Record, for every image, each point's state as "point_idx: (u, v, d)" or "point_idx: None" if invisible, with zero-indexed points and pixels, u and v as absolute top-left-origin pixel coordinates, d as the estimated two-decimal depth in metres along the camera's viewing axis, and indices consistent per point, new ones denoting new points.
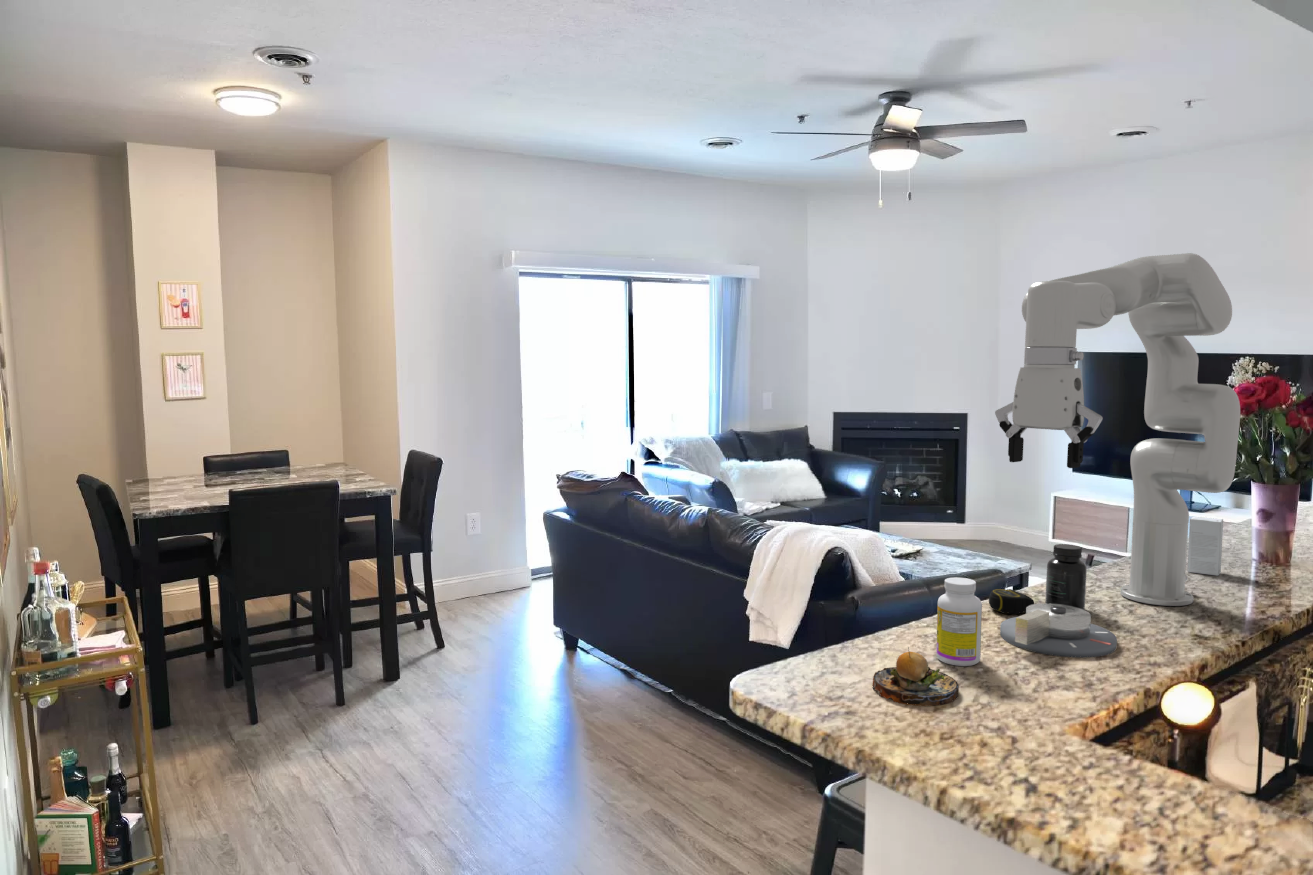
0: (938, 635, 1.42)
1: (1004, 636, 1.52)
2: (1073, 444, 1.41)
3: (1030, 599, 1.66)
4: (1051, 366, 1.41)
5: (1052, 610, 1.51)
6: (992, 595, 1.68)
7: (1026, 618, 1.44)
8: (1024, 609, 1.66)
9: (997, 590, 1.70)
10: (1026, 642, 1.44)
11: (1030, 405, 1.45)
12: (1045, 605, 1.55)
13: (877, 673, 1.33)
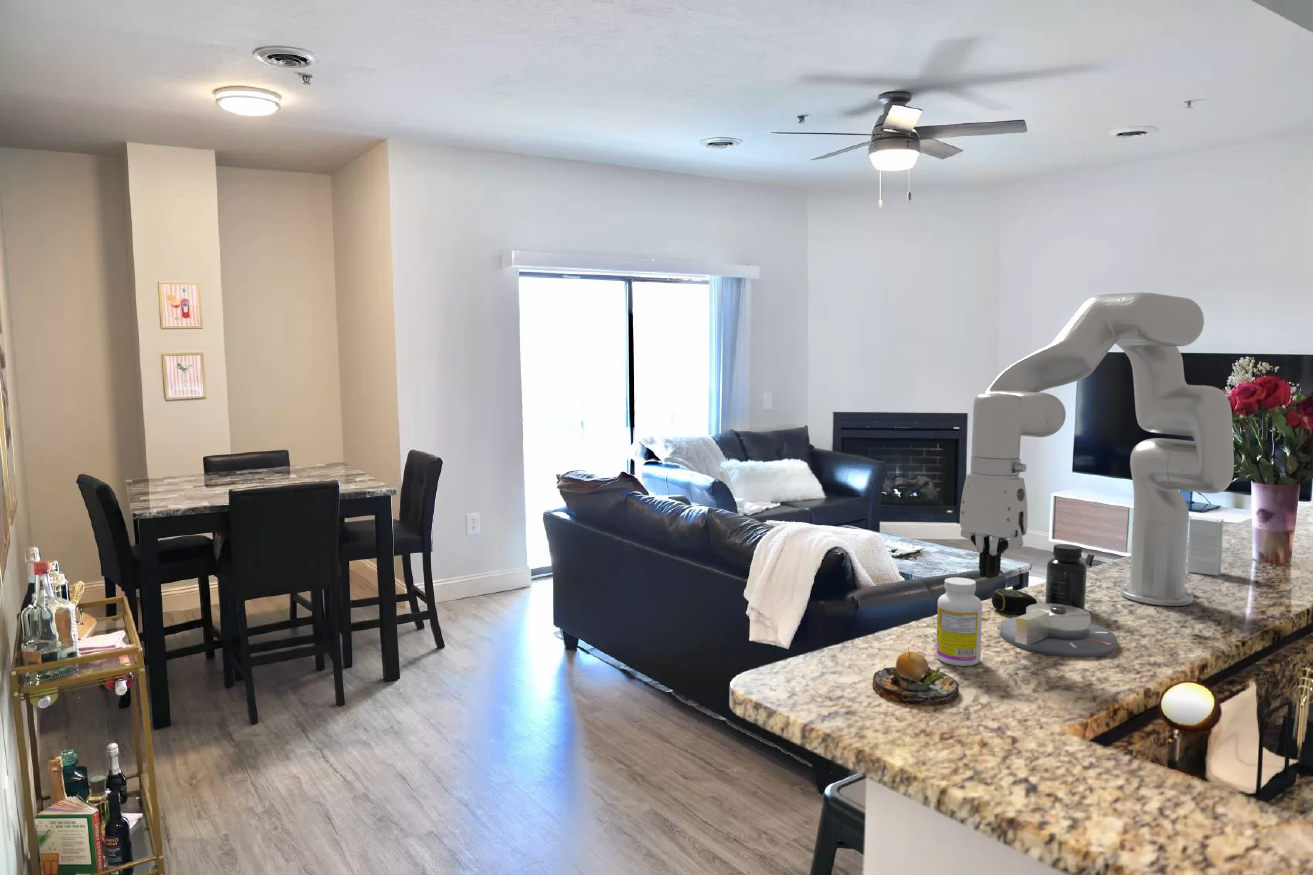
0: (938, 635, 1.42)
1: (1004, 636, 1.52)
2: (990, 556, 1.49)
3: (1033, 599, 1.66)
4: (995, 477, 1.45)
5: (1052, 610, 1.51)
6: (995, 595, 1.68)
7: (1026, 618, 1.44)
8: None
9: (1000, 590, 1.70)
10: (1026, 642, 1.44)
11: (976, 512, 1.49)
12: (1045, 605, 1.55)
13: (877, 673, 1.33)
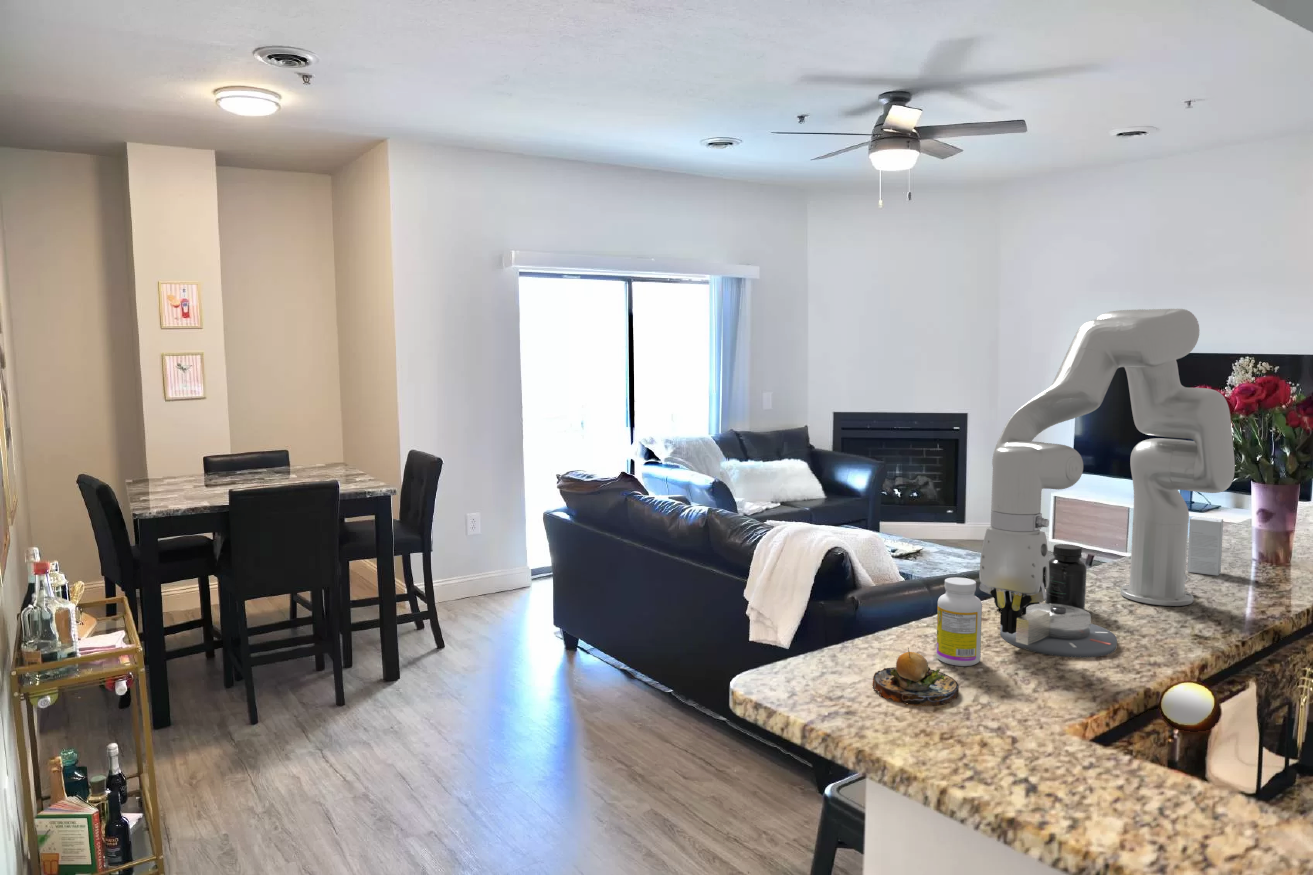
0: (938, 635, 1.42)
1: (1004, 636, 1.52)
2: (1013, 611, 1.47)
3: None
4: (1019, 533, 1.43)
5: (1052, 610, 1.51)
6: None
7: (1027, 618, 1.44)
8: None
9: None
10: (1027, 642, 1.44)
11: (997, 567, 1.47)
12: (1045, 605, 1.55)
13: (877, 673, 1.33)
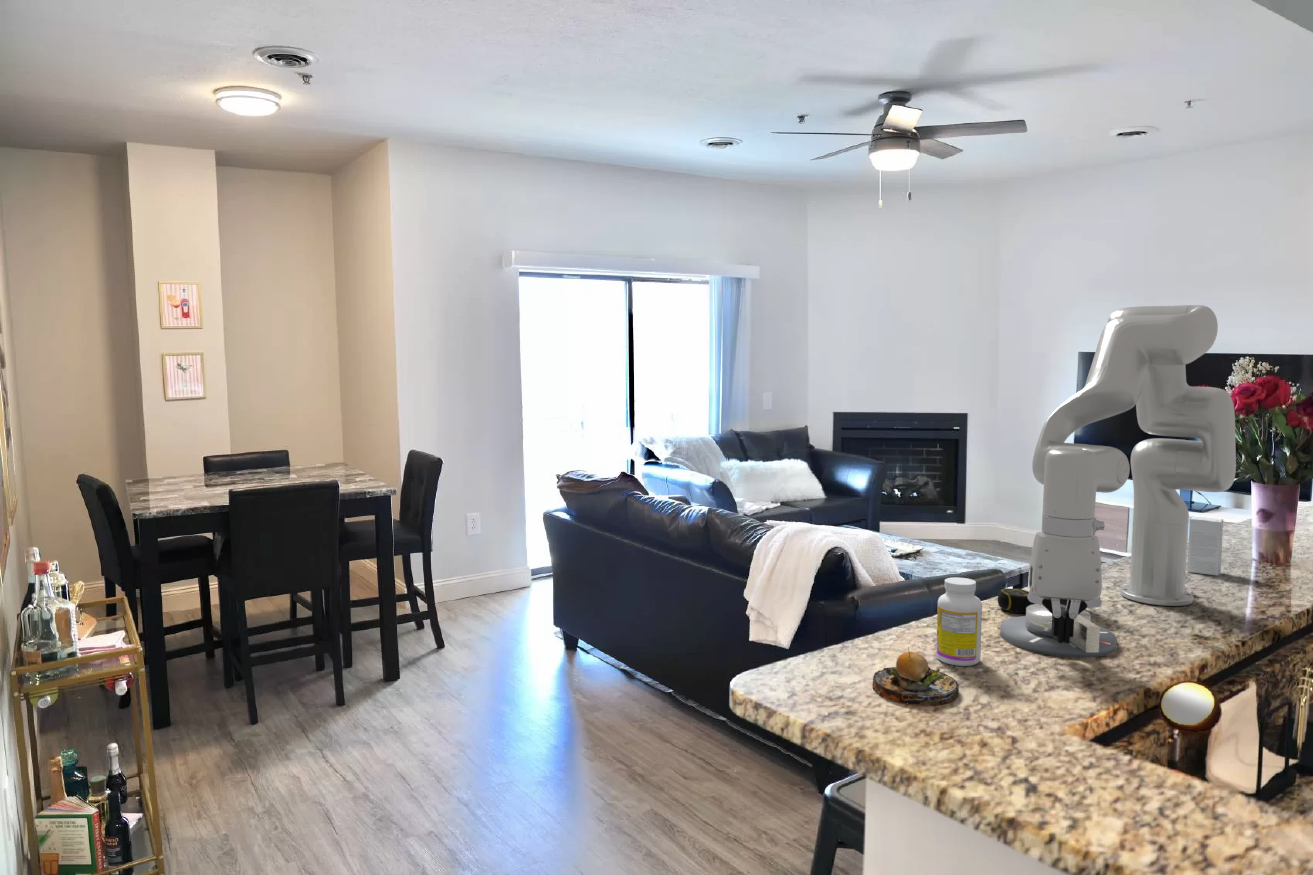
0: (938, 635, 1.42)
1: (1004, 636, 1.52)
2: None
3: None
4: (1085, 539, 1.38)
5: None
6: (1001, 594, 1.69)
7: (1093, 625, 1.40)
8: None
9: (1006, 589, 1.71)
10: (1097, 650, 1.40)
11: (1057, 576, 1.40)
12: (1033, 608, 1.54)
13: (877, 673, 1.33)
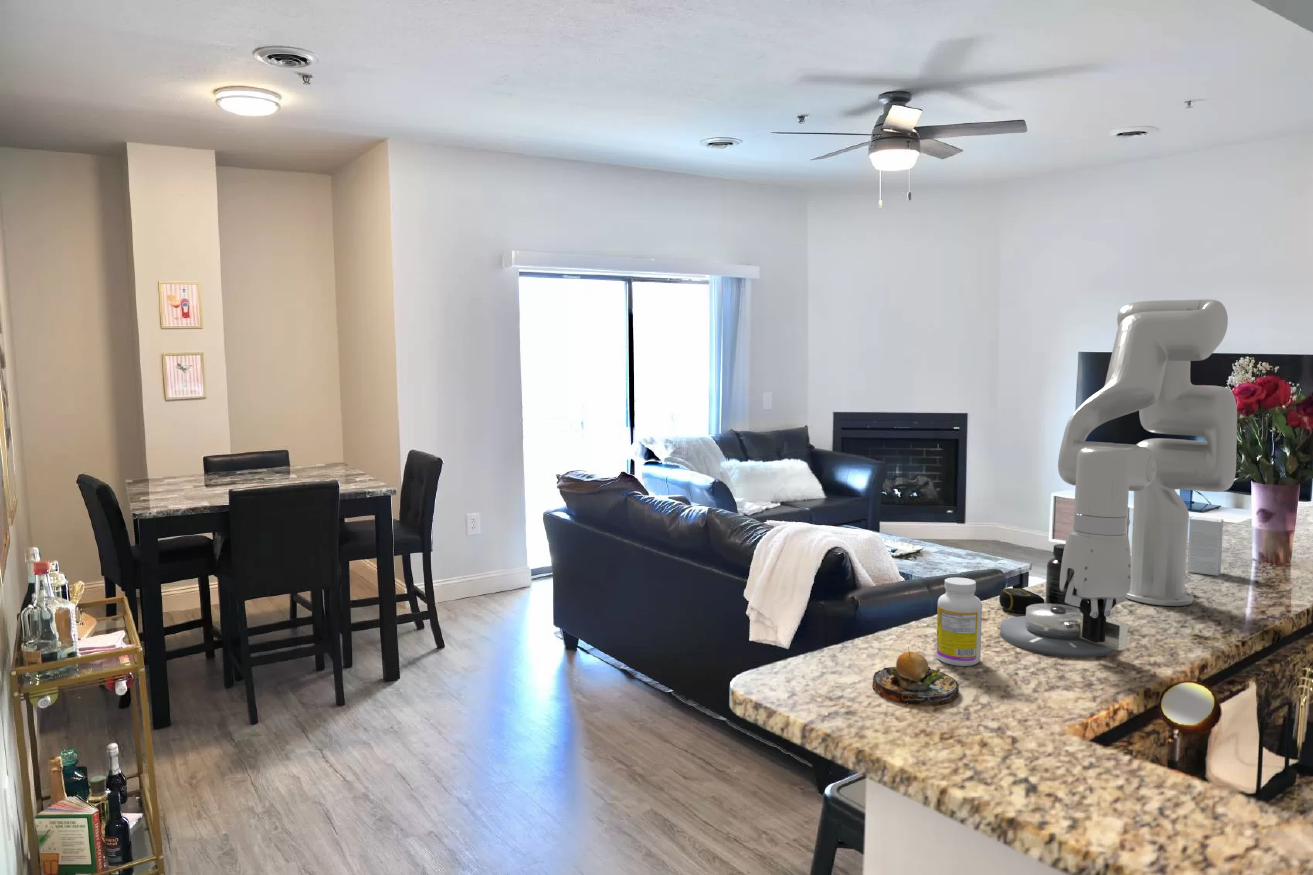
0: (938, 635, 1.42)
1: (1004, 636, 1.52)
2: None
3: (1040, 598, 1.67)
4: (1125, 536, 1.38)
5: (1062, 611, 1.51)
6: (1003, 594, 1.69)
7: (1120, 623, 1.42)
8: None
9: (1007, 589, 1.71)
10: (1126, 646, 1.42)
11: (1100, 576, 1.39)
12: (1034, 611, 1.52)
13: (877, 673, 1.33)
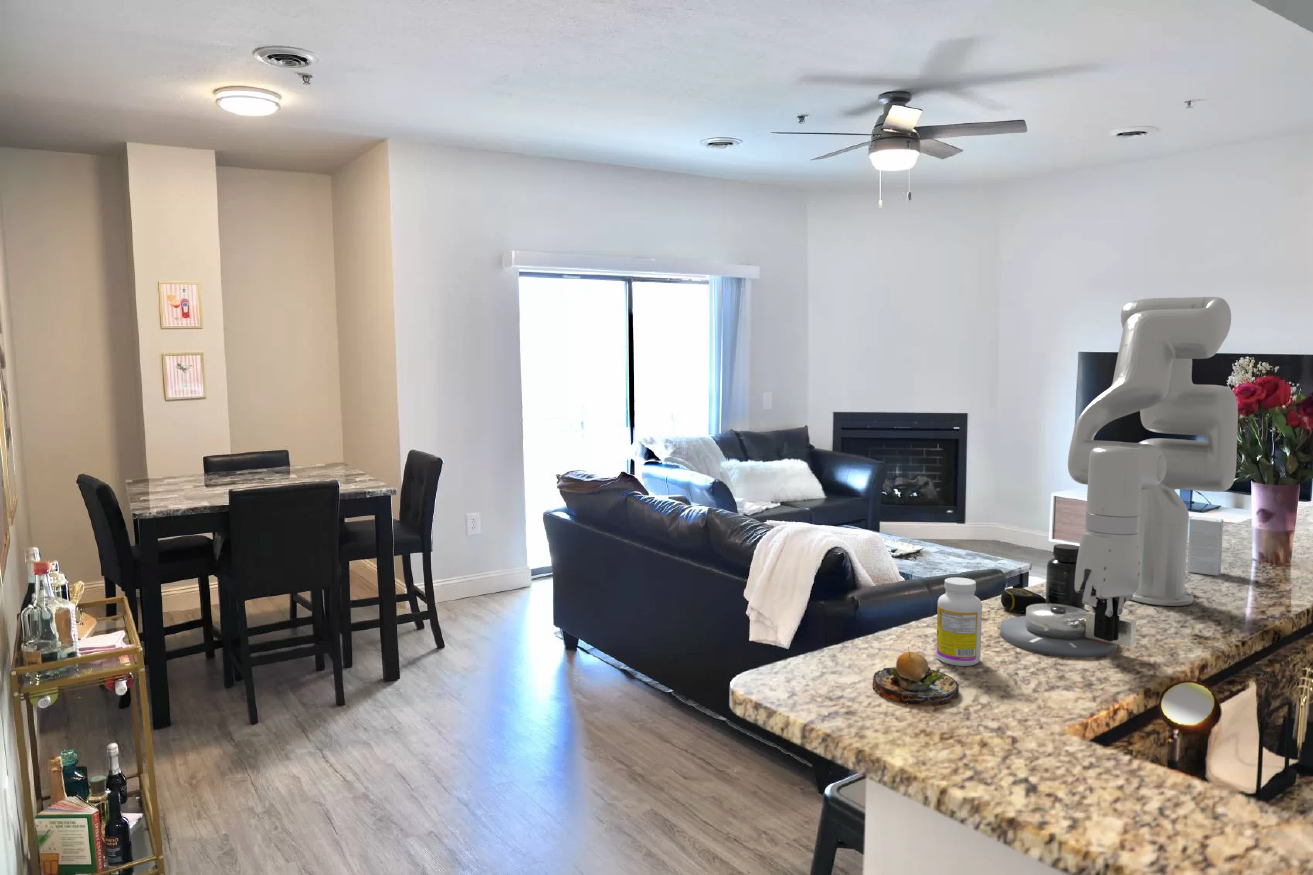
0: (938, 635, 1.42)
1: (1004, 636, 1.52)
2: None
3: (1042, 598, 1.67)
4: (1138, 534, 1.40)
5: (1063, 611, 1.51)
6: (1004, 594, 1.69)
7: (1129, 619, 1.44)
8: None
9: (1009, 589, 1.71)
10: (1134, 642, 1.44)
11: (1116, 575, 1.39)
12: (1037, 613, 1.51)
13: (877, 673, 1.33)
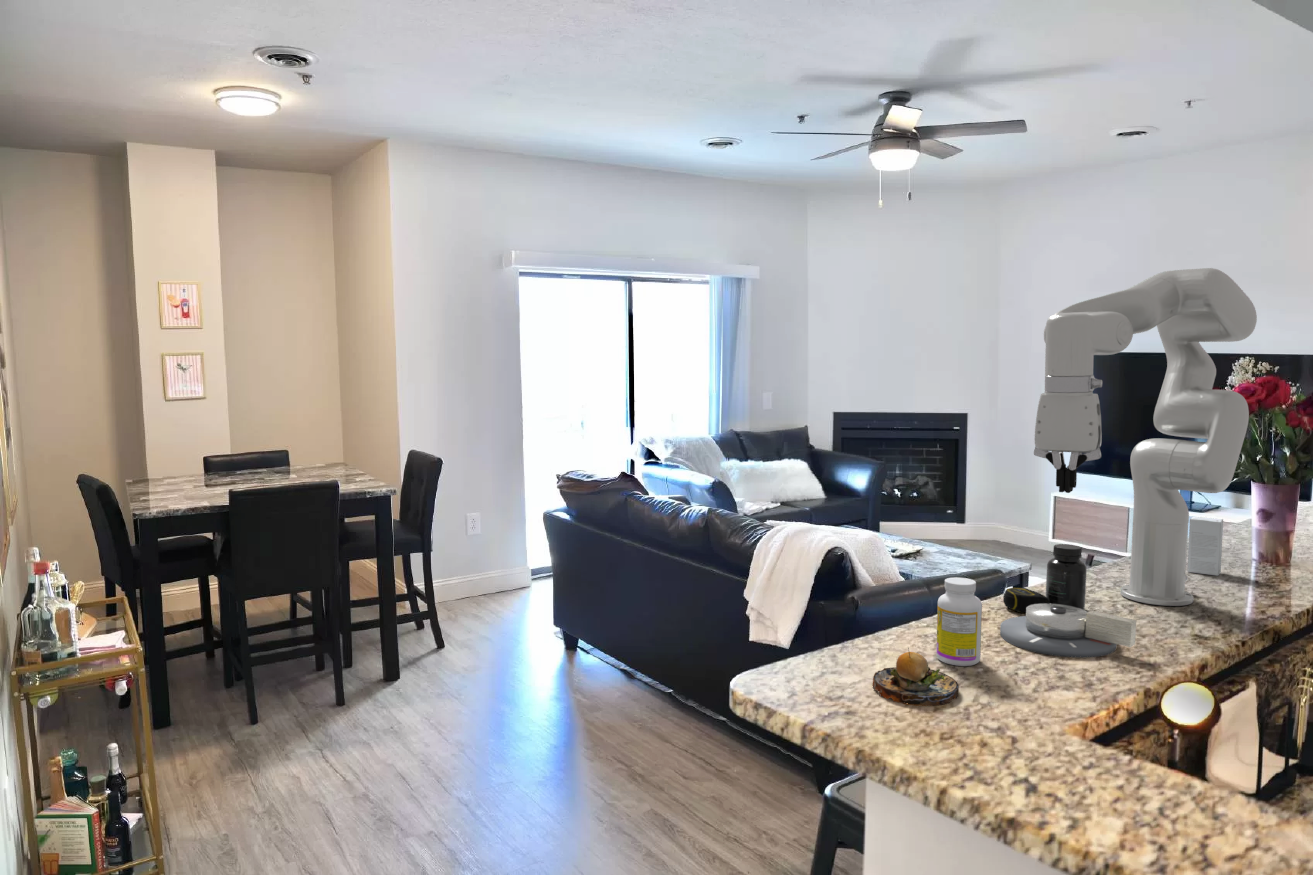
0: (938, 635, 1.42)
1: (1004, 636, 1.52)
2: (1069, 471, 1.54)
3: (1045, 598, 1.67)
4: (1076, 394, 1.50)
5: (1063, 611, 1.51)
6: (1007, 594, 1.69)
7: (1129, 619, 1.44)
8: None
9: (1011, 589, 1.71)
10: (1134, 642, 1.44)
11: (1054, 430, 1.54)
12: (1037, 613, 1.51)
13: (877, 673, 1.33)
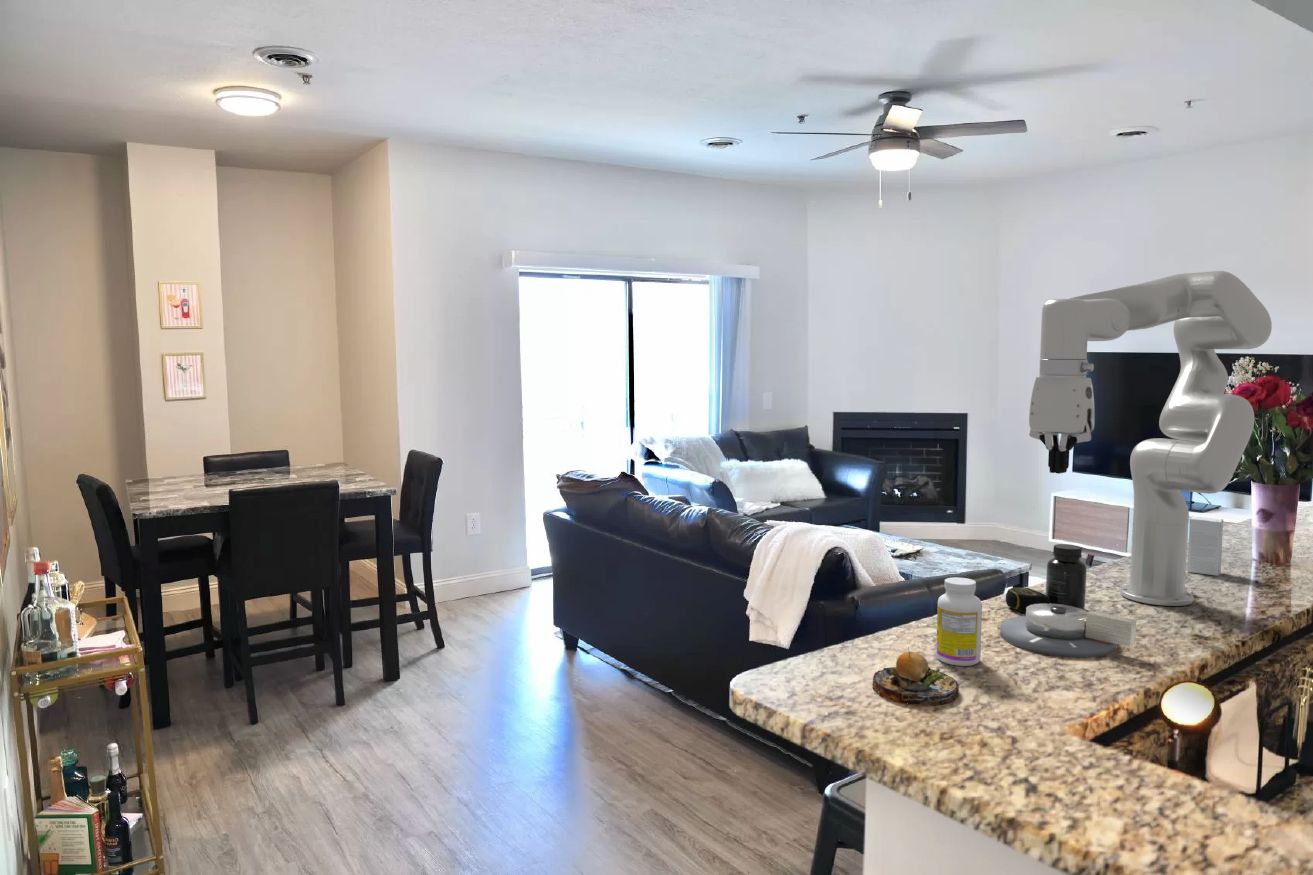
0: (938, 635, 1.42)
1: (1004, 636, 1.52)
2: (1060, 452, 1.59)
3: (1047, 597, 1.67)
4: (1064, 377, 1.55)
5: (1063, 611, 1.51)
6: (1009, 593, 1.69)
7: (1129, 619, 1.44)
8: None
9: (1014, 588, 1.71)
10: (1134, 642, 1.44)
11: (1045, 412, 1.59)
12: (1037, 613, 1.51)
13: (877, 673, 1.33)
